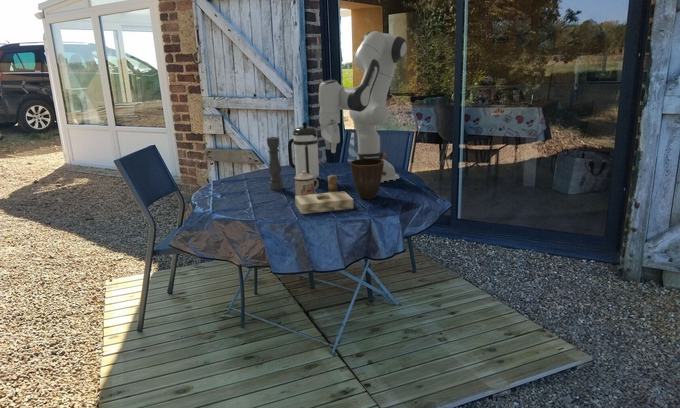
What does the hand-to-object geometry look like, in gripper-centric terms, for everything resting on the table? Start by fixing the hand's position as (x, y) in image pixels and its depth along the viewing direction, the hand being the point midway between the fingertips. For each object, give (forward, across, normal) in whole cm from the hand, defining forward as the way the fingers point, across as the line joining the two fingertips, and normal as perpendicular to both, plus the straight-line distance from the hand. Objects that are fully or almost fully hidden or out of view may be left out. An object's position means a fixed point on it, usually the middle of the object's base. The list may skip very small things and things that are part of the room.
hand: (330, 150), depth 214 cm
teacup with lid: (+22, +8, +10) cm, 25 cm away
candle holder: (+22, +27, +22) cm, 41 cm away
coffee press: (+22, +40, +5) cm, 46 cm away
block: (+21, -12, +7) cm, 25 cm away
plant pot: (+21, -4, -15) cm, 27 cm away
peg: (+21, 0, 0) cm, 21 cm away
